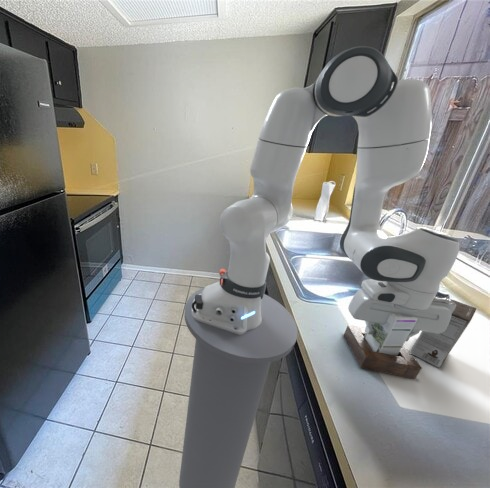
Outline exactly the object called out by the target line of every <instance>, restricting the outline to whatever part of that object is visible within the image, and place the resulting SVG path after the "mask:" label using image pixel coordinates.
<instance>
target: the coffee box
mask: <svg viewBox="0 0 490 488" xmlns="http://www.w3.org/2000/svg"><path fill="white" fill-rule="evenodd" d="M442 298H446V299H450V300H451V301H452V302H454V303H455V305H456V308H455V310H454V311H453V313H452V315H451V319H450V322H449V324H448V327H447V329H446V330H445V331H444V332H442V333H440V334H437V333H431V332H426V331H420V334H419V335H418V337H417V339H416V341H415V342H414V344H413V346H412V348H411V349H410V351H409V352H410V353H411V355H412V356H414V357H416V358H419V359H420V360H423V361H424V362H426V363H428V364H430V365H432V366H434V367H436V368H440V367H442V364H443V363H444V361H445V360H446V358H447V357H448V355H449V354H450V353H451V351H452V349H453V348H454V347H455V345H456V343H457V342H458V341H459V339H460V338H461V336H462V335H463V333H464V332H465V331H466V329H467V327H468V326H469V324H470V323H471V321H472V319H473V318H474V315H475V313H476V312H477V307H474V306H472V305H468V304H466V303H464V302H461V301H458V300H455V299H451V298H449V297H446V296H443V297H442Z"/></svg>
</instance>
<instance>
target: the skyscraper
mask: <svg viewBox="0 0 490 488" xmlns="http://www.w3.org/2000/svg"><path fill="white" fill-rule="evenodd" d="M321 186H322V187H321V193H320V197H319V200H318V202H317V205H316V209H315V213H314V219H313V220H314V222H315V221H316V222H321V223H326V221H327V217H328V213H329V210H330V204H331V203H330V199H331V195H332V193H333V192H334V190H335V187H336V182H335V181H333V180H330V181H324V182H323V183H322V185H321Z"/></svg>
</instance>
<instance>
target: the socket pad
mask: <svg viewBox="0 0 490 488" xmlns="http://www.w3.org/2000/svg"><path fill="white" fill-rule="evenodd" d="M365 328H366V327H361V326H355V325H349V324H347V326H346V329H345V331H344V333H343V337H344V339H345V341H346V343H347V344H348V346H349V349H350V351H351V352H352V355H353V356H354V357H355V359H356V361H357V363H358V365H359V368H360V369H365V370H368V371H369V370H370V371H375V372H379V373H384V374H389V375H393V376H399V377H403V378H408V379H413V380H415V379H416V378H417V377H418V375H419V374H420V372H421V371H422V369H423V367H422V366H421V365H420V363H419V362H418V360H416V358H415V356H414V355H413V354H411V353H410V351H409V349H408V348H407V347H406V345H405V343H404V344H403V346H402V348H401V350H400V351H399V353H398V355H397V356H395V355H390V354H384V353H379V352H374V351H373V350H372V349H371V347H370V346H369V344H368V342H367V341H366V339H365V338H364V336H365V334H366V332H365Z"/></svg>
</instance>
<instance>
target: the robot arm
mask: <svg viewBox="0 0 490 488" xmlns="http://www.w3.org/2000/svg"><path fill="white" fill-rule="evenodd" d="M331 116H332V117H352V118H353V119H354V120H355V121H356V124H357V129H358V138H357V148H356V151H357V152H356V168H355V170H356V173H355V179H354V185H353V190H352V191H353V193H352V199H351V206H350V213H349V220H348V223H347V226H346V227H345V230H344V231H343V233H342V234H341V237H340V240H339V248H340V251H341V252H342V254H343V255H344V256H346V257H347V258H348V259H349V260H351V262H352V263H353V264H354V265H355V267H357V268H358V270H360V272H361V273H362V274H363V275H365V277H367V278H368V279H364V280H363V281H362V282H361V285H360V286H361V288H360V289H358V290H356V291H355V293H354V295H353V297H352V298H351V300H350V302H349V304H348V308H347V309H348V312H349V313H350V315H351V316H352V318H353V319H354V320H358V321H363V322H365V325H366V326H365V327H364V328H365V332H366V333H367V334H370V335H374V333H375V332H376V330H375V329H374V327H373V326H372V325H374V324H375V323H381V324H385V323H386V322H387V320H388V318H389V315H390V314H400V315H407V316H412V317H416V318H418V319H417V321H416V323H415V325H414V327H413V329H412V330H411V332H410V334H409V335H408V337H407V339H406V341H405V342H409V340H410V339H411V338H412V337H414V336H416V335H418V334H419V333H421V332H422V331H426V332H431V333H437V334H440V333H442V332H444V331H445V330H446V329H447V327H448V324H449V322H450V319H451V315H452V313H453V311H454V310H455V308H456V305H455V303H454V302H452V301H451V300H450V299H451V298H449V299H446V298H447V297H446V298H443V297H438V296H437V295H438V293H439V290H440V285H441V282H442V281H443V280H444V279H446V277H447V276H448V275H449V274H450V271H451V270H452V268H453V266H454V264H455V262H456V260H457V258H458V255H459V252H460V242H459V241H458V239H457V238H455V237H454V236H452V235H451V234H448V233H446V232H443V231H441V230H438V229H435V228H431V227H427V226H426V227H425V226H418V227H416V228H415V229H413V230H411V231H409V232H406V233H403V234H398V235H393V236H388V235H386V233H385V232H384V231H383V229H382V227H381V223H380V222H381V216H382V211H383V208H384V207H383V206H384V201H385V197H386V194H387V193H388V191H390V190H391V189H392V188H394V187H397V186H400V185H402V184H404V183H406V182H408V181H410V180H412V179H413V178H414V177H415V176H416V175H418V174H419V172H421V171H422V168H423V166H424V165H425V164H424V163H425V162H426V158H427V155H428V151H429V147H430V146H429V145H430V139H431V132H432V119H433V118H432V117H433V107H432V93H431V89H430V86H429V84H428V83H427V82H425V81H423V80H420V79H415V78H405V79H404V78H403V79H399V78H398V75H397V74H396V73H395V72H394V70H393V69H392V67H391V65H390V64H389V61H388V60H387V58H386V57H385V55H384V54H383V53H382V52H381V51H379V50H378V49H376V48H374V47H372V46H368V45H360V46H354V47H350V48H347V49H345V50H343V51H341V52H339V53H338V54H336V55H335V56H334V57H332V58H331V59H330V60H329V61H328V62H327V64H326V65H325V66H324V67H323V69H322V70H321V71H320V73H319V75H318V76H317V78H316V79H315V81H314V82H313V83H311V84H310V85H309V86H307V87H290V88H287V89H284V90H282V91H280V92H279V93H277V95H275V97H274V99H273V101H272V103H271V105H270V106H269V108H268V111H267V113H266V116H265V118H264V121H263V123H262V126H261V129H260V132H259V136H258V139H257V142H256V145H255V149H254V153H253V155H252V156H253V157H252V160H251V164H250V167H249V173H250V175H251V177H252V180H253V187H252V189H253V191H252V195H251V196H250V197H249V198H245V199H241V200H238V201H236V202H234V203H232V204H231V205H229V206H227V207H226V208H225V209H223V211H222V212H221V215H220V217H219V229H220V232H221V233H222V235H223V236H224V237H225V238H226V240H228V243H229V251H230V255H229V264H228V270H226V269H225V268H220V269H219V274H218V275H219V281H216V282H213V283H210V284H208V285H205V287H203V288H204V290H203V291H202V293H201V294H199V295H195V299H194V301H193V303H192V309H191V312H192V316H193V318H194V319H195V320H197V321H200V322H203V323H206V324H209V325H212V326H215V327H217V328H220V329H223V330H226V331H229V332H232V333H235V334H238V335H242V334H244V333H245V332H246V331H248V330H251V329H254V328H257V327H258V326H259V325H260V324H261V322H262V317H261V301H262V299H263V295H264V294H266V293H265V292H266V288H267V281H266V279H267V275H268V271H269V267H270V263H271V257H270V255H269V253H268V251H267V249H266V248H267V239H268V237H269V236H270V235H271V234H273V233H275V232H277V231H280V230H282V229H283V228H284V227H285V226H286V225H287V224H288V223H289V222H290V221H291V219H292V217H293V215H294V207H293V204H292V200H293V194H294V187H295V183H296V179H297V176H298V172H299V171H300V167H301V165H302V162H303V159H304V156H305V154H306V150H307V148H308V146H309V143H310V140H311V137H312V134H313V132H314V130H315V128H316V126H317V125H318V123H319V122H320V121H321V120H323V118H326V117H331ZM371 324H372V325H371Z"/></svg>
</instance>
